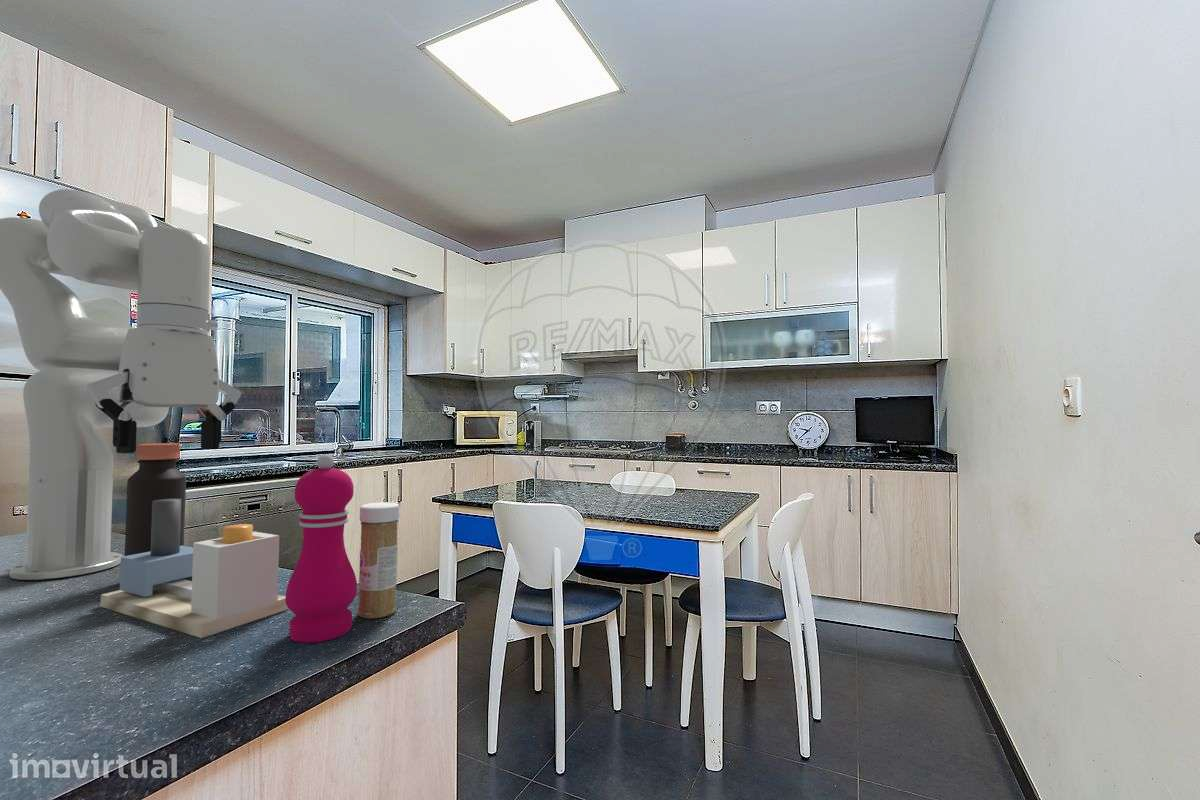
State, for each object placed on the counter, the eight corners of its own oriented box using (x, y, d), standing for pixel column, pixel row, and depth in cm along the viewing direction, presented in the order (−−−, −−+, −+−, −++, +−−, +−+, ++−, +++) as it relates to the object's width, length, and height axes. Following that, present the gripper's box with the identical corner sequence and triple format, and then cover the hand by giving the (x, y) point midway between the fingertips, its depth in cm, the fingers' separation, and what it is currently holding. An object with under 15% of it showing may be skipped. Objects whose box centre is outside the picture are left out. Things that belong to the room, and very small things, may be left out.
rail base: (100, 606, 68) (101, 584, 68) (188, 584, 77) (189, 565, 77) (201, 638, 59) (202, 613, 59) (288, 609, 68) (289, 587, 68)
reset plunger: (216, 561, 64) (217, 527, 64) (242, 555, 67) (243, 523, 67) (231, 564, 63) (232, 530, 63) (257, 558, 65) (258, 525, 65)
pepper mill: (327, 648, 56) (331, 457, 57) (268, 642, 58) (273, 455, 59) (369, 622, 64) (373, 453, 64) (316, 617, 65) (320, 451, 66)
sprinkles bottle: (350, 613, 66) (353, 504, 67) (385, 604, 70) (387, 500, 70) (368, 623, 63) (371, 508, 64) (404, 612, 67) (406, 504, 67)
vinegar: (112, 583, 77) (117, 444, 78) (164, 571, 84) (169, 442, 84) (141, 589, 75) (147, 445, 76) (193, 576, 81) (197, 443, 82)
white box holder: (191, 612, 62) (193, 542, 63) (252, 594, 69) (254, 531, 69) (216, 619, 60) (218, 547, 60) (277, 600, 66) (279, 535, 67)
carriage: (119, 589, 69) (122, 502, 70) (181, 575, 76) (183, 495, 76) (144, 596, 67) (147, 505, 67) (206, 581, 73) (208, 498, 73)
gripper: (225, 334, 82) (222, 447, 81) (75, 314, 66) (71, 454, 65) (256, 330, 78) (253, 448, 78) (106, 308, 63) (102, 455, 62)
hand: (170, 450), depth 71 cm, fingers open, 9 cm apart
